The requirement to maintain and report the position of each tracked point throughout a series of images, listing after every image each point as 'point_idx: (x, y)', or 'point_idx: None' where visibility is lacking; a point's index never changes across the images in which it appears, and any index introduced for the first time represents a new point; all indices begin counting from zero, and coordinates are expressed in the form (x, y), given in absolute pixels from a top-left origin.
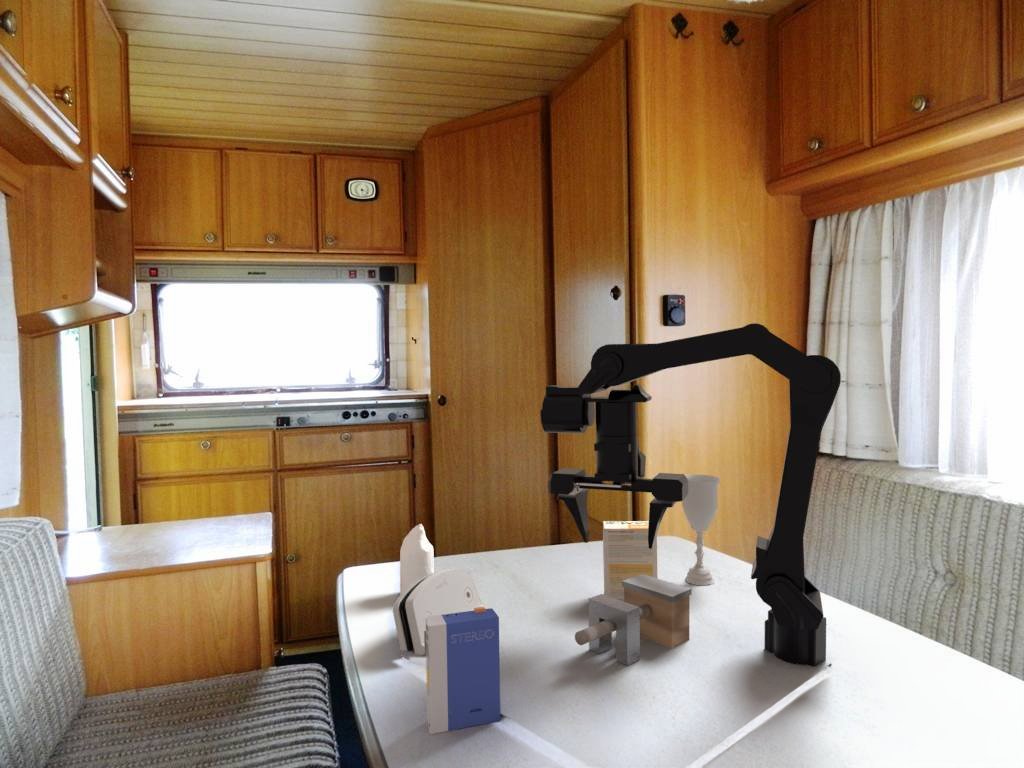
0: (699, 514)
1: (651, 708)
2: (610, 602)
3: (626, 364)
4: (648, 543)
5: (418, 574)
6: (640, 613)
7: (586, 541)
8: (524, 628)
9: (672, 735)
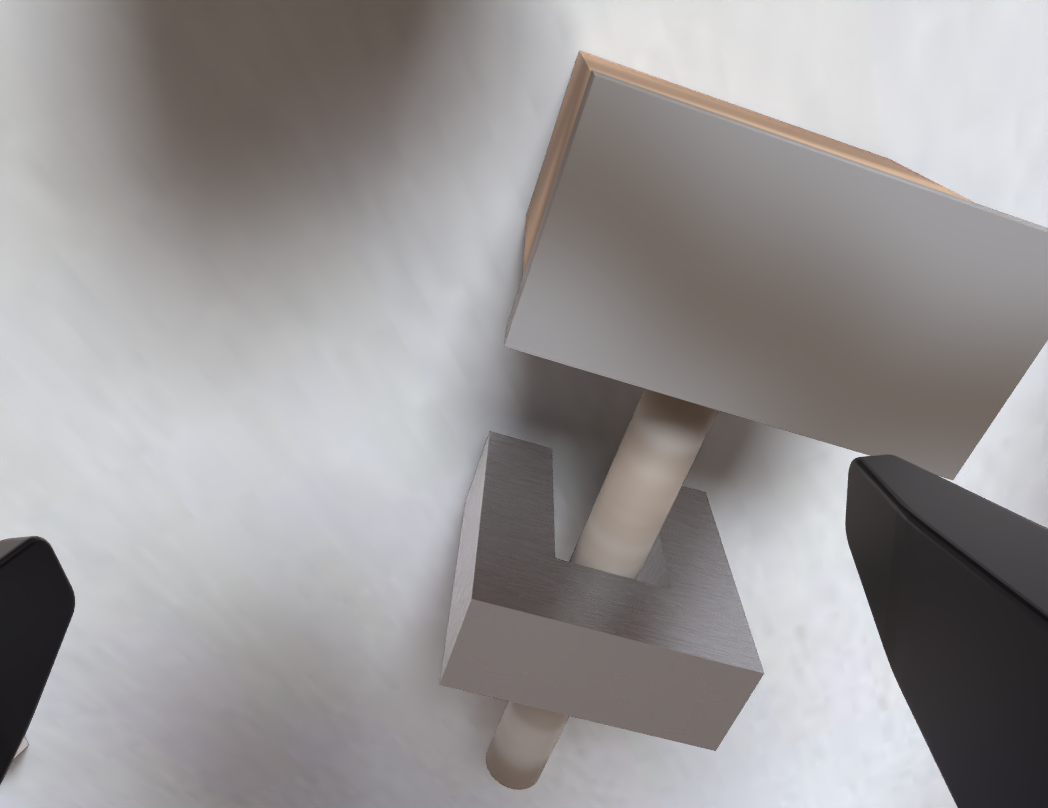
0: None
1: (807, 689)
2: (580, 681)
3: None
4: (870, 602)
5: None
6: (698, 451)
7: (70, 620)
8: (33, 361)
9: (890, 770)
